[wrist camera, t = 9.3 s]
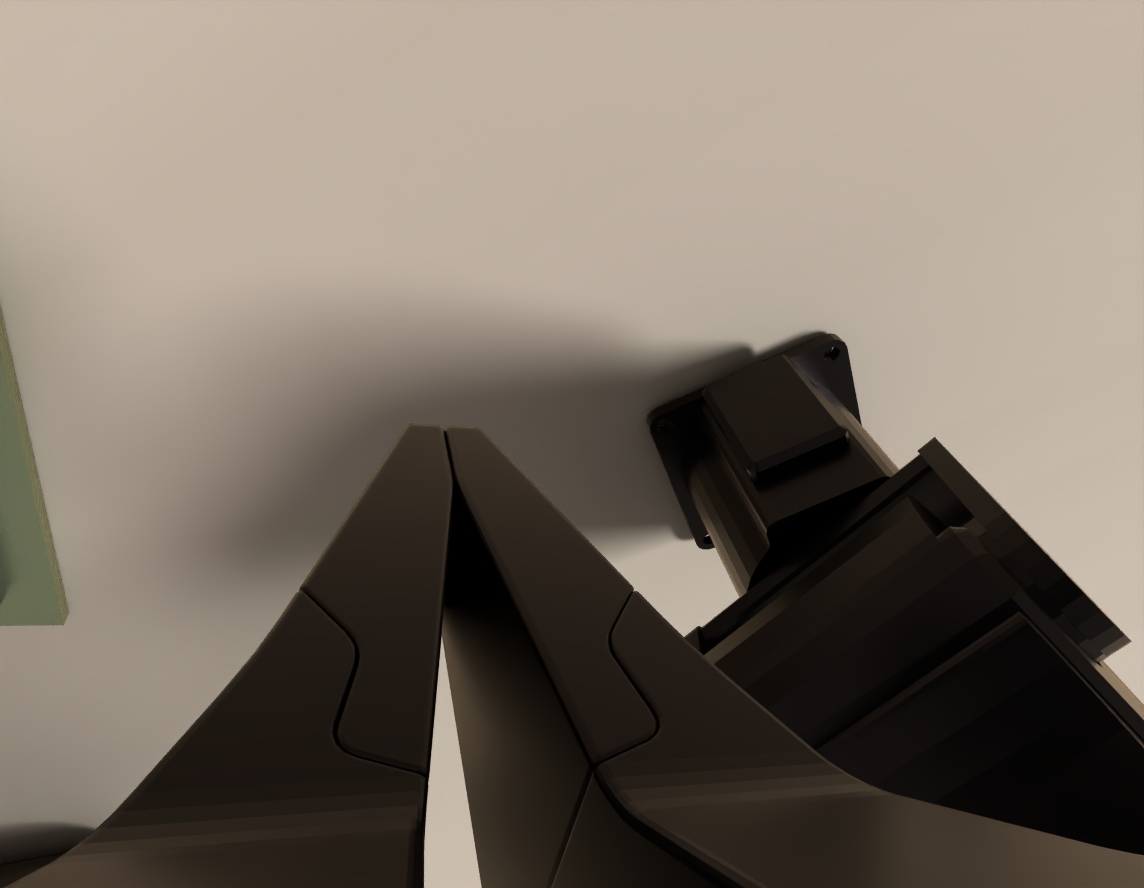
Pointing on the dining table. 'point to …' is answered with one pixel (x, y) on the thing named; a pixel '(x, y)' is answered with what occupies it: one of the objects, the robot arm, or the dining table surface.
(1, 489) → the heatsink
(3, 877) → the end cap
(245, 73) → the dining table surface
